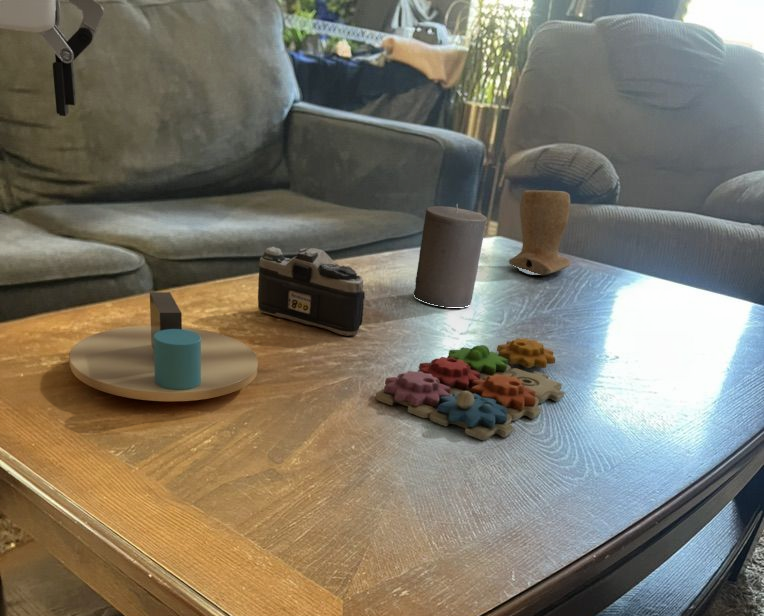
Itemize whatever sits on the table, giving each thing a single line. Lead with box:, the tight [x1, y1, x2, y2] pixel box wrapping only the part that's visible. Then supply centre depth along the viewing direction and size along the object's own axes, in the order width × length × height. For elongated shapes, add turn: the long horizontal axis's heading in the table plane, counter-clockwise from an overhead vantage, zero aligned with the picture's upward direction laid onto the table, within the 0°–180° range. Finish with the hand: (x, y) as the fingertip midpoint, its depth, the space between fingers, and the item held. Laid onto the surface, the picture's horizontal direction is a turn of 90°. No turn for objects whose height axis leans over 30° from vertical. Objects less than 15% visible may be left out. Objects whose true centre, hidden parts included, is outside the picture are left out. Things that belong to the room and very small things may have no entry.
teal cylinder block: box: [153, 329, 201, 390], centre depth 79 cm, size 5×5×5 cm
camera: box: [257, 245, 366, 337], centre depth 109 cm, size 16×10×10 cm, turn 65°
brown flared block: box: [508, 189, 572, 276], centre depth 150 cm, size 15×12×15 cm
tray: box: [68, 291, 259, 402], centre depth 84 cm, size 20×20×7 cm
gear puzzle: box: [375, 337, 565, 441], centre depth 96 cm, size 31×16×4 cm, turn 146°
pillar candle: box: [413, 203, 488, 307], centre depth 123 cm, size 10×10×15 cm
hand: (2, 107), depth 66 cm, fingers open, 9 cm apart
